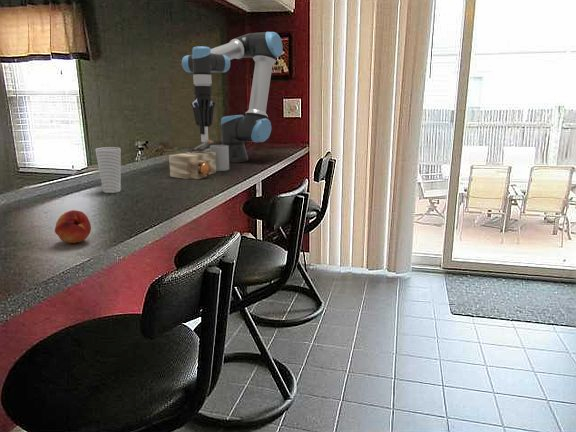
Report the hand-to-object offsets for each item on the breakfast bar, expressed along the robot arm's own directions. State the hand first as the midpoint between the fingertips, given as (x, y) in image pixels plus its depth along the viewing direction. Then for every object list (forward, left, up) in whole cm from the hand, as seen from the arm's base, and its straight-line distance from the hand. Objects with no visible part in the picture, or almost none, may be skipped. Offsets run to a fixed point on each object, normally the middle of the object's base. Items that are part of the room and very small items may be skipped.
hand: (204, 141), depth 202 cm
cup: (+47, -2, -14) cm, 49 cm away
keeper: (0, -1, -3) cm, 3 cm away
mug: (-11, -3, -14) cm, 18 cm away
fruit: (+90, +39, -14) cm, 99 cm away
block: (+5, -1, -14) cm, 15 cm away
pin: (+9, +1, -12) cm, 15 cm away
